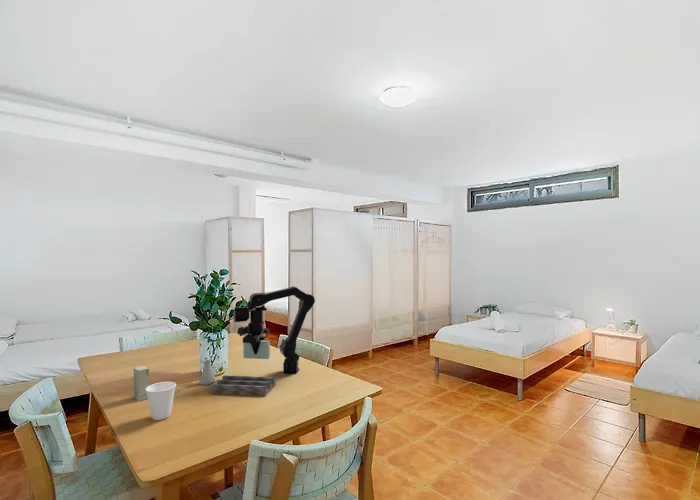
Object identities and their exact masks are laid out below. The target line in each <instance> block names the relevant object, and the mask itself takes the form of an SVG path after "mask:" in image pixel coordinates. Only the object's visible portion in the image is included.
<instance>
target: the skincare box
mask: <svg viewBox="0 0 700 500" xmlns="http://www.w3.org/2000/svg"><path fill="white" fill-rule="evenodd" d="M150 379H151V378H150V367H148V366H146V365H141V366H136V367H133V388H134V389H133V391H134V392H133V395H134V399H135V400H137V401H138V402H140V401H144V400H148V397H147V392H146V390H145V389H146V388H147V387H148V386H150V385H151V382H150Z"/></svg>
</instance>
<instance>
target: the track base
mask: <svg viewBox="0 0 700 500" xmlns="http://www.w3.org/2000/svg"><path fill="white" fill-rule="evenodd" d="M221 378H222V379H216V383H212V384H210V394H212V395H213V394H214V395H233V396H236V395H237V396H256V397H257V396H260V397H267V395H268V394H269V393H270V392H271V390H272V391H273V389H274V387H276V377H271V376H269V377H268V376H248V375H247V376H246V375H245V376H244V375H222V377H221Z"/></svg>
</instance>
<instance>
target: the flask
mask: <svg viewBox="0 0 700 500" xmlns="http://www.w3.org/2000/svg"><path fill="white" fill-rule="evenodd" d="M202 362H203V368H202V373H201V376H200V377H199V381H198V385H202V386H205V385H206V386H207V385H211V384H215V382H217V379H216V376H215V374H214V372H213V369H212V366H211V362H212V359H204V360H203V361H202Z"/></svg>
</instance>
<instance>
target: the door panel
mask: <svg viewBox="0 0 700 500" xmlns="http://www.w3.org/2000/svg"><path fill="white" fill-rule="evenodd" d="M242 343H243V342H242ZM242 347H243V348H242V349H243V353H242V354H243V359H253V360H254V359H255V360H256V359H257V360H258V359H259V360H260V359H261V360H269V359H270V358H271V341H270V340H261V343H260V346H259V349H258V352H257V354H254V351H253V348H252V346H251V344H250V343H243V346H242Z"/></svg>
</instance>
